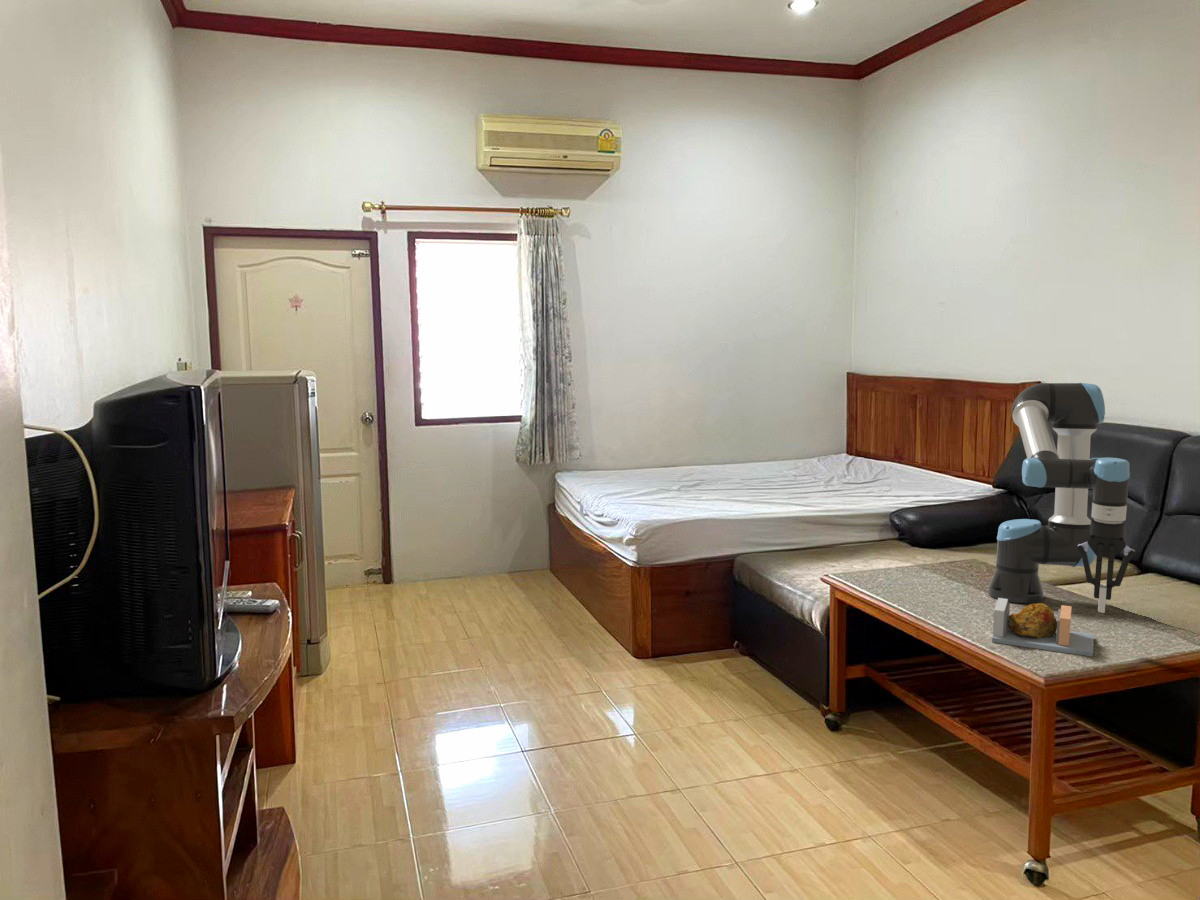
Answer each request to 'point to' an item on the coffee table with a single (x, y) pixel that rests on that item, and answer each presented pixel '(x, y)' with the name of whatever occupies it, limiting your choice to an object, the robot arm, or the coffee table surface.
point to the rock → (1033, 621)
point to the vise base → (1002, 634)
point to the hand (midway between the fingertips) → (1101, 610)
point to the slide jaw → (1063, 625)
